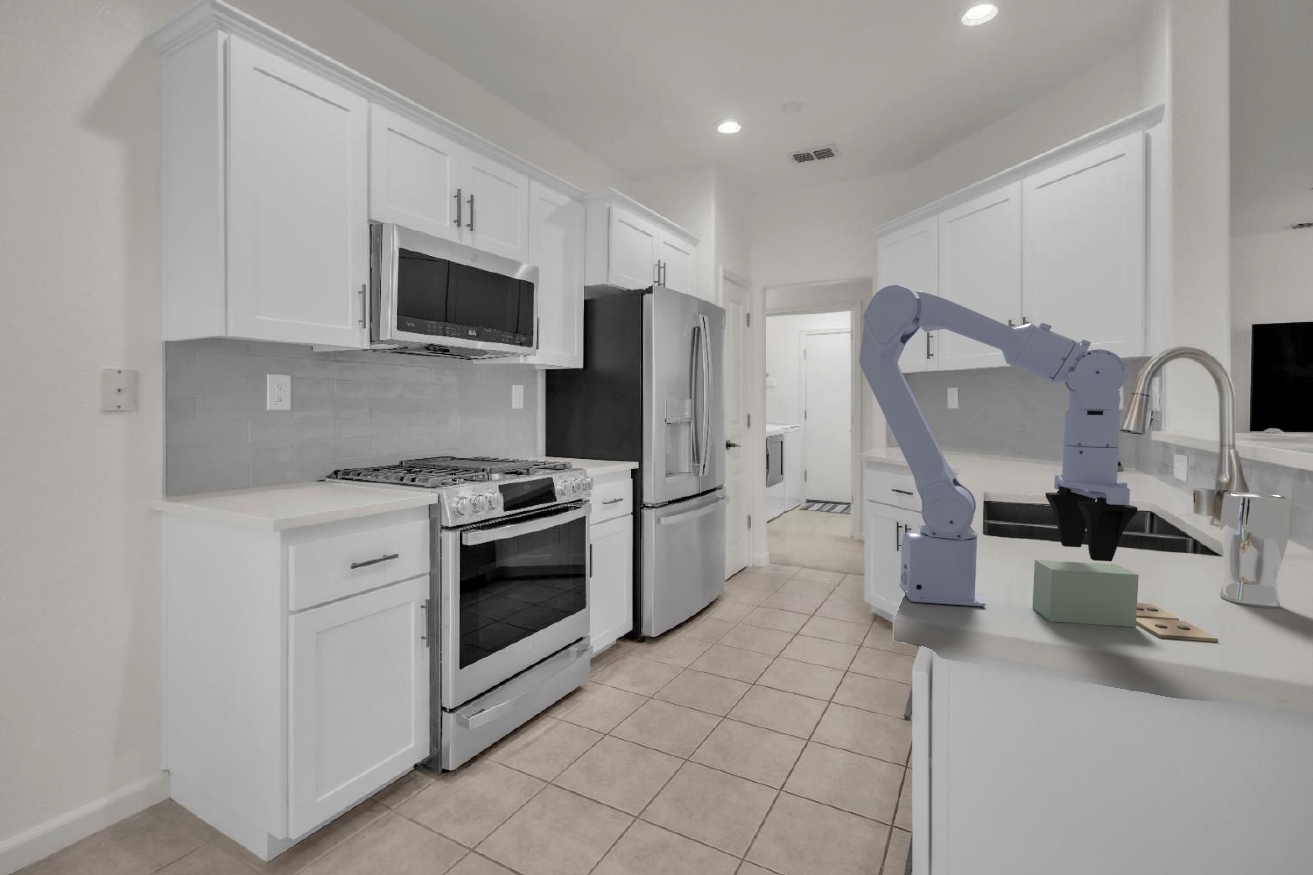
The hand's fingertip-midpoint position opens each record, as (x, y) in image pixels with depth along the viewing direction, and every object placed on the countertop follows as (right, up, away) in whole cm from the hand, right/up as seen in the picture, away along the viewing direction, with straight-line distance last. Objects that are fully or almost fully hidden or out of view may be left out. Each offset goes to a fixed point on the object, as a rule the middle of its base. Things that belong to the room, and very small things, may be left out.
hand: (1085, 553), depth 79 cm
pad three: (+9, -8, +3) cm, 12 cm away
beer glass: (+29, -9, +8) cm, 31 cm away
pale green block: (0, -8, 0) cm, 8 cm away
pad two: (+8, -9, -4) cm, 12 cm away
